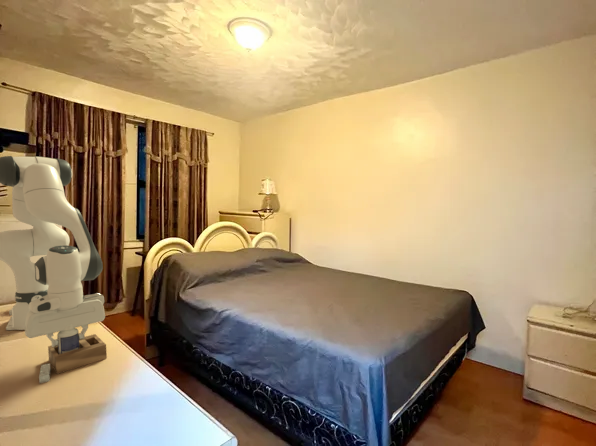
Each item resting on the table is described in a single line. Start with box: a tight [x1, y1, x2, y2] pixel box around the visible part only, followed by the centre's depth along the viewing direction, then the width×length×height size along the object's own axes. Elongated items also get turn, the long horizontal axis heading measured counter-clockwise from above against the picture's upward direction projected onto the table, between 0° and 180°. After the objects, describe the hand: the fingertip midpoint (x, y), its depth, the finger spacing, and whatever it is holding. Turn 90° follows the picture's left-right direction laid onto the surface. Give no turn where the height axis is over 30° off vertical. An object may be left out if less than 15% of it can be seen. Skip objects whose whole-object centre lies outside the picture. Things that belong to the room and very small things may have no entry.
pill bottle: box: [56, 325, 80, 354], centre depth 102 cm, size 5×5×10 cm
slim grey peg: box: [38, 362, 52, 384], centre depth 94 cm, size 8×2×2 cm, turn 35°
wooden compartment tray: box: [47, 333, 108, 375], centre depth 104 cm, size 12×13×4 cm
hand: (68, 342), depth 102 cm, fingers closed on pill bottle, 5 cm apart
